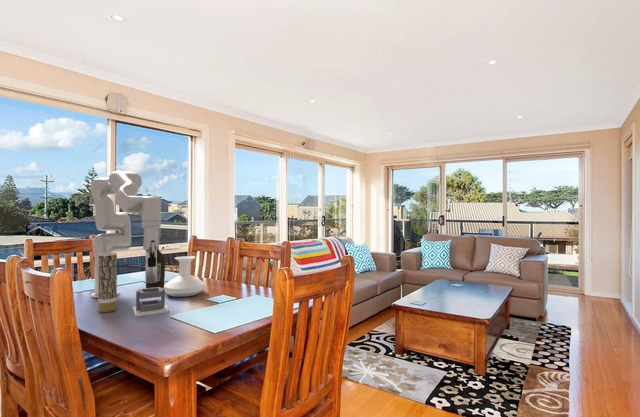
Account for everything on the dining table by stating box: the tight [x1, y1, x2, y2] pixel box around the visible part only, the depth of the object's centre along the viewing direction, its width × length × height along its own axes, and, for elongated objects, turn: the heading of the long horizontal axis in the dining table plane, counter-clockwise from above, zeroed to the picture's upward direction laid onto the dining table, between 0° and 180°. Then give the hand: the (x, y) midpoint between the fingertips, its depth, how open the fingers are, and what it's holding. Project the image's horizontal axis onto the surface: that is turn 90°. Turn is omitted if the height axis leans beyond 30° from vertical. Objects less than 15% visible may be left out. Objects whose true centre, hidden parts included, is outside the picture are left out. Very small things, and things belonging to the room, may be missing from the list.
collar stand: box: [132, 287, 170, 317], centre depth 157 cm, size 13×13×9 cm
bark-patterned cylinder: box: [97, 252, 118, 313], centre depth 156 cm, size 7×7×25 cm
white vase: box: [164, 255, 206, 298], centre depth 186 cm, size 20×20×19 cm
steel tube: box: [145, 249, 157, 284], centre depth 156 cm, size 4×4×17 cm
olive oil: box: [144, 242, 167, 288], centre depth 201 cm, size 11×11×25 cm
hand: (151, 265), depth 156 cm, fingers closed on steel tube, 4 cm apart
